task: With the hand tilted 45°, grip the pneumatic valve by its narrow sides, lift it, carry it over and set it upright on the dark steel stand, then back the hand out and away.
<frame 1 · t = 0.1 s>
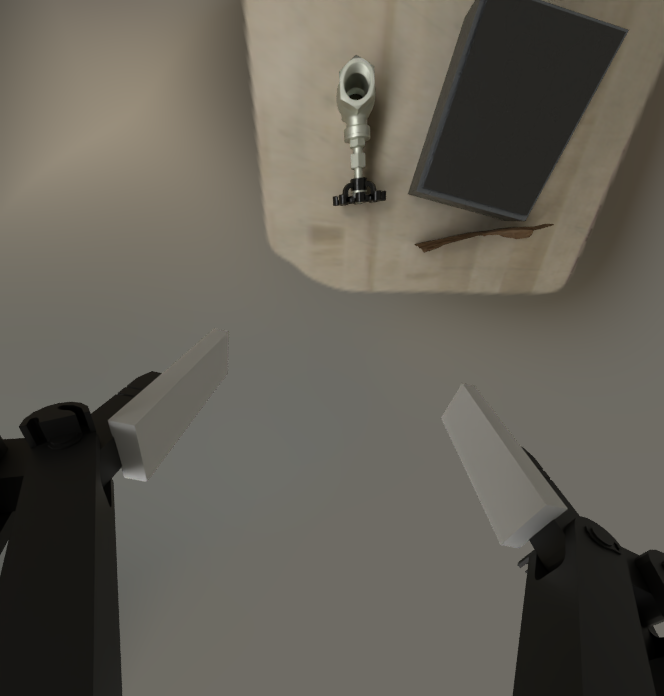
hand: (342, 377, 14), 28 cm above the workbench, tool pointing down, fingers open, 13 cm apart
stand: (487, 133, 30), on the workbench
valve: (356, 150, 31), on the workbench
wood plank: (468, 238, 36), on the workbench
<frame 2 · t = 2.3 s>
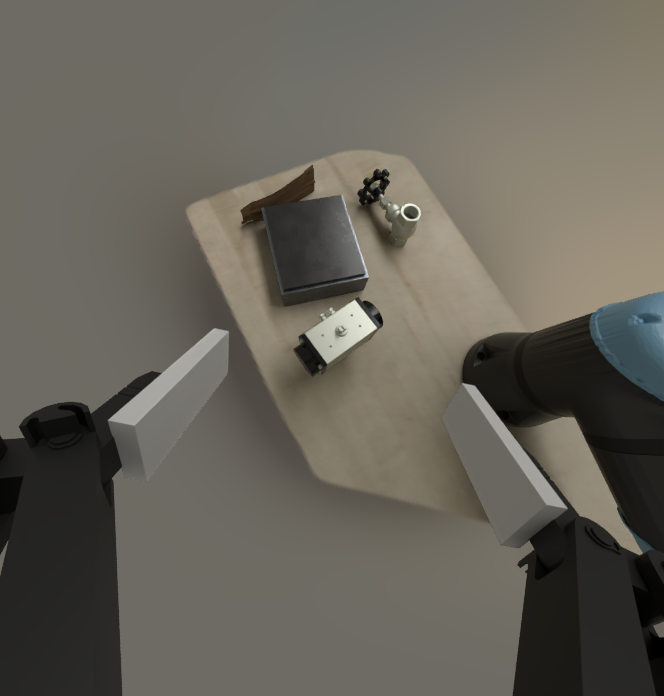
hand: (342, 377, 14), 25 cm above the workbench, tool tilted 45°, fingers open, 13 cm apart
stand: (313, 257, 44), on the workbench
pneumatic valve: (332, 349, 41), on the workbench
valve: (385, 224, 47), on the workbench
wood plank: (280, 209, 46), on the workbench
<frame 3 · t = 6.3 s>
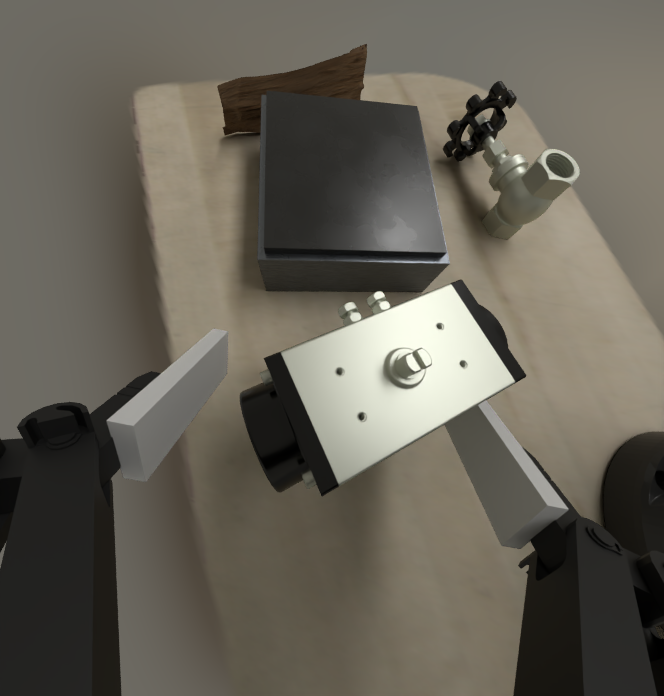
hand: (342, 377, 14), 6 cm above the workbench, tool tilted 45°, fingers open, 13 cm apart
stand: (341, 216, 24), on the workbench
pneumatic valve: (343, 395, 19), on the workbench, touching gripper
valve: (479, 198, 27), on the workbench
wood plank: (297, 126, 27), on the workbench
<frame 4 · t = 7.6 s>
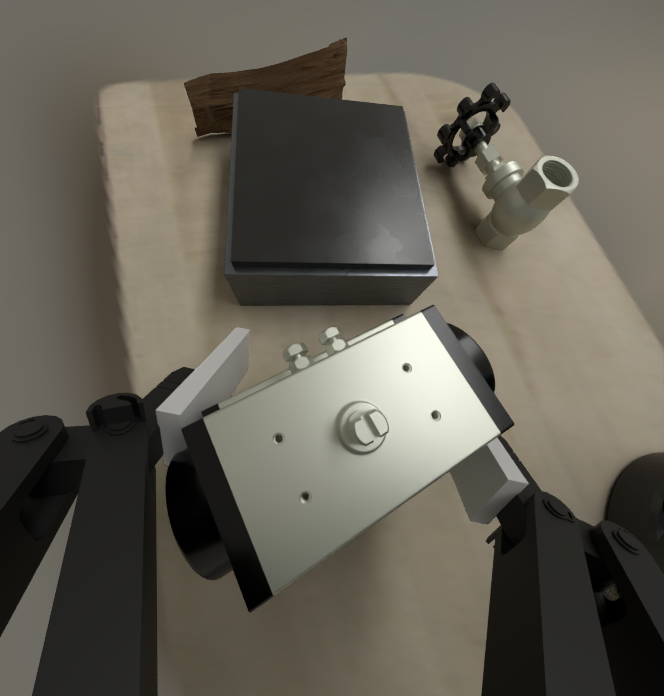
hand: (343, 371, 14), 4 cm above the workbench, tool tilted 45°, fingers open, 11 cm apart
stand: (324, 223, 22), on the workbench
pneumatic valve: (323, 419, 18), on the workbench, touching gripper
valve: (472, 206, 26), on the workbench
wood plank: (276, 126, 25), on the workbench
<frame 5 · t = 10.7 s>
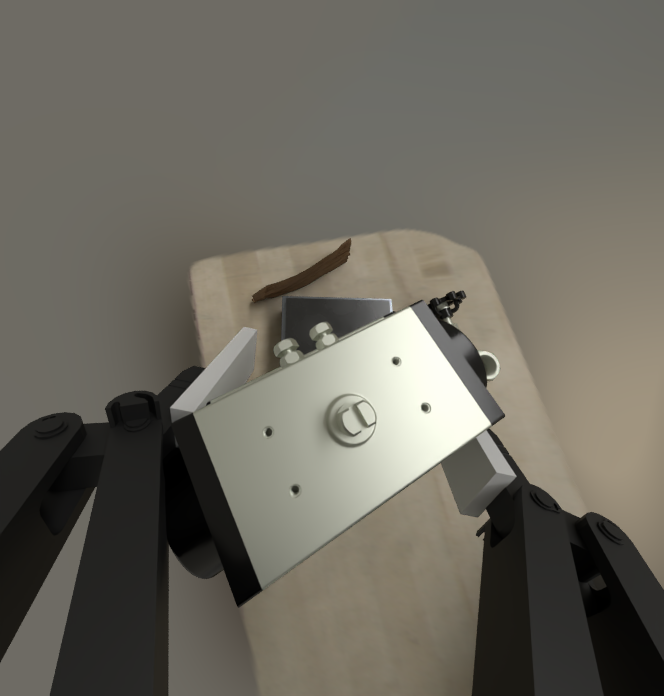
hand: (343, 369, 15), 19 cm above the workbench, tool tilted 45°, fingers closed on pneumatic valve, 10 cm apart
stand: (335, 365, 34), on the workbench
pneumatic valve: (320, 421, 18), point 15 cm above the workbench, touching gripper
valve: (442, 348, 37), on the workbench
wood plank: (302, 283, 37), on the workbench
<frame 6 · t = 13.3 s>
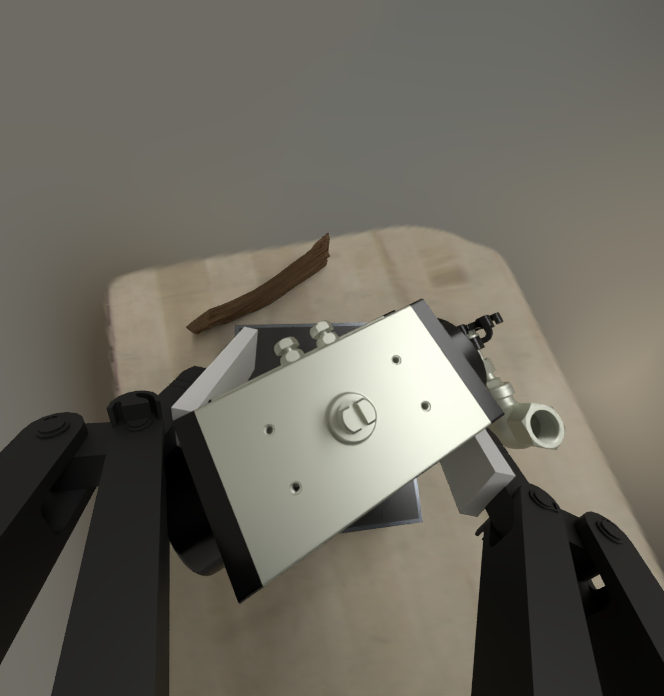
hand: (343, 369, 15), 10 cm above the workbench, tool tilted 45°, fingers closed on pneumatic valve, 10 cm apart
stand: (319, 417, 24), on the workbench
pneumatic valve: (320, 420, 18), point 6 cm above the workbench, touching gripper
valve: (467, 388, 27), on the workbench
wood plank: (268, 299, 27), on the workbench
when the fingers open (10 cm above the workbench, at t = 13.7 s): pneumatic valve drops 1 cm, resting on stand.
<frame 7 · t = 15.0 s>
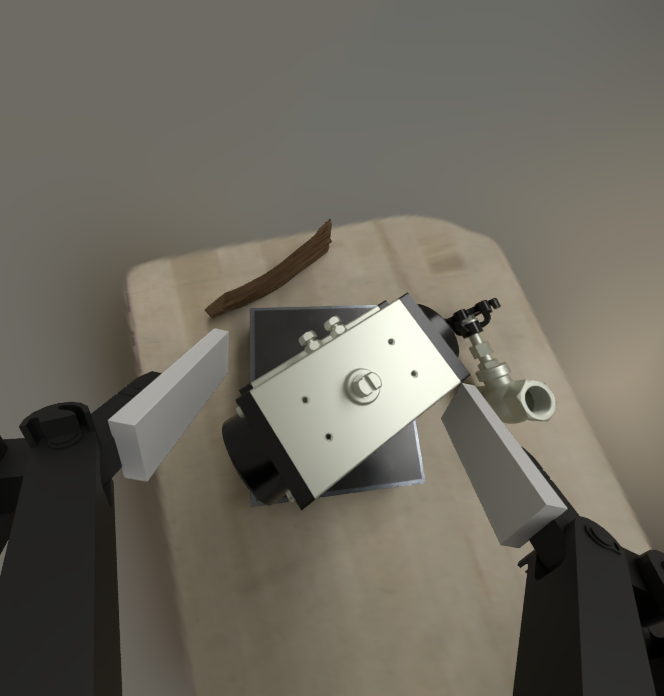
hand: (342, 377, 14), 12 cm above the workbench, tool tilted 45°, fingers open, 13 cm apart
stand: (328, 395, 26), on the workbench
pneumatic valve: (326, 394, 21), point 5 cm above the workbench, touching stand
valve: (466, 370, 29), on the workbench
wood plank: (275, 284, 28), on the workbench
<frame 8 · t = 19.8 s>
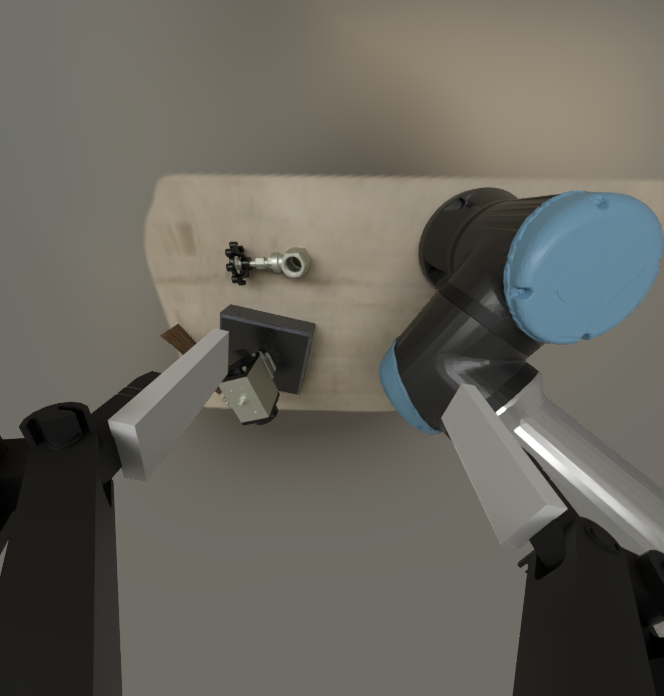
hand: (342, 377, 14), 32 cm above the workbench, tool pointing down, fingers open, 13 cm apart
stand: (269, 346, 50), on the workbench
pneumatic valve: (263, 361, 46), point 5 cm above the workbench, touching stand
valve: (277, 259, 42), on the workbench
wood plank: (204, 354, 52), on the workbench
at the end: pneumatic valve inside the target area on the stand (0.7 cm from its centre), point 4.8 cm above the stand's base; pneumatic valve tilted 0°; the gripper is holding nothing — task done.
